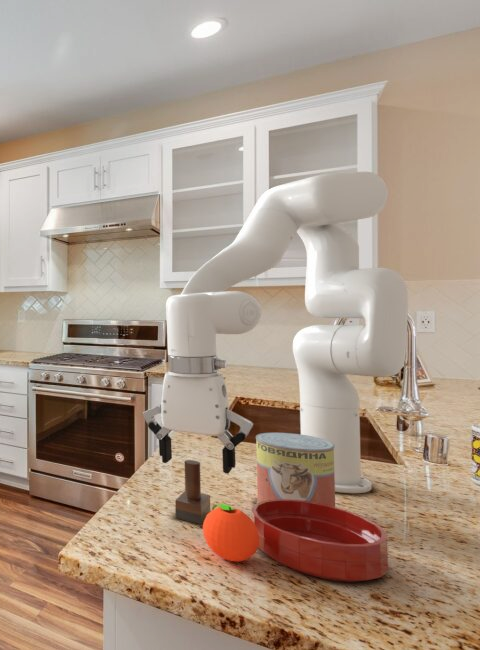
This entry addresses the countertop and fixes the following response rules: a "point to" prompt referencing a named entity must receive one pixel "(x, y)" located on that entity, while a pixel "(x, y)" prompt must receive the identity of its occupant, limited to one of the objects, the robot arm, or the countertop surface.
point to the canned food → (295, 468)
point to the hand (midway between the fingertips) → (196, 465)
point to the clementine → (230, 533)
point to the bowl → (321, 539)
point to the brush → (192, 496)
